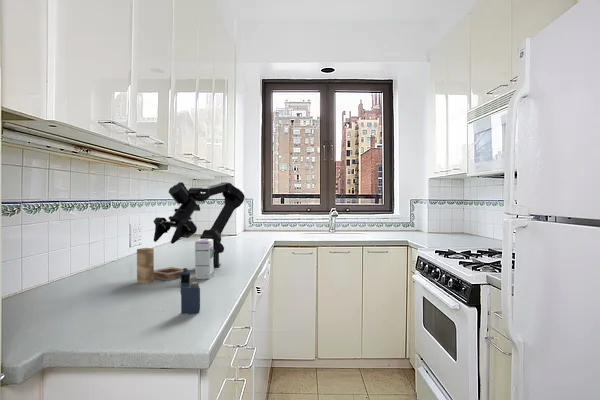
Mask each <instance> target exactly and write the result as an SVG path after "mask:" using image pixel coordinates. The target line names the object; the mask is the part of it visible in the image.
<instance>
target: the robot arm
mask: <svg viewBox="0 0 600 400" xmlns="http://www.w3.org/2000/svg"><path fill="white" fill-rule="evenodd" d="M168 194H169V195H170V197H171V198H172V199H173V200H174V202H175V203H176V204H178V205H179V207H178V208H174V210H173V211H174V213H173V215H172V216H171V215H170V216H168V220H169V221H168V220H167V219H166V217H159V216H158V217H155V218H154V220H153V221H152V222H153V223H154V225H155V226H154V227H155V229H154V236H153V242H154V243H156V242H158V240H160V239H161V237H162V236H163V235H164V234H166V233H169V231H170V230H171V228H174V229H175V230H174V233H173V235H172V237H171V240H170V244H172V245H173V244H175V243H176V242H178V241H179V240H180V239H181V238H186V239H188V238H189V239H190V237H192V236H193V235H195V234H196V232H197V230H198V227H197V225H196V224H195V223H194V222H193V220H192V217H191V216H192V215H193V214H194V212H195V211H196V212H200V211H201V206H200V204H198V203H197V202H200V203H201V202H205V201H207V200H209V198H210V197H212V196H216V195H219V194H222V196H223V197H224V201H223V202H224V205H223V207H222V209H221V211H220V212H219V214H218V216H217V217H216V219H215V220H214V223H213V224H212V226H211V228H210V229H204V230H203V232H202V233H201V235H200V236H199V239H213V256H214V268H220V266H221V265H222V263H220V254H222V253H224V250H225V246H224V244H222V233H223V231H224V229H225V228H226V225H228V222H229V220H230V218H231V217H232V215H233V213H234V212H235V210H237V208H239V207H241V205H242V204H243V203H244V201H245V198H246V197H245V194H244V192H243V191H241V189H239V188H238V187H236V186H234V185H233V184H232V183H231V182H226V181H225V182H223V181H222V182H221V183H218V184H213V185H209V186H207V187H190V188H187V187H186V186H185V184H184V182H183V181H182V182H178V183H177V184H175V185H173V186H172V187H170V188H169V189H168Z"/></svg>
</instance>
